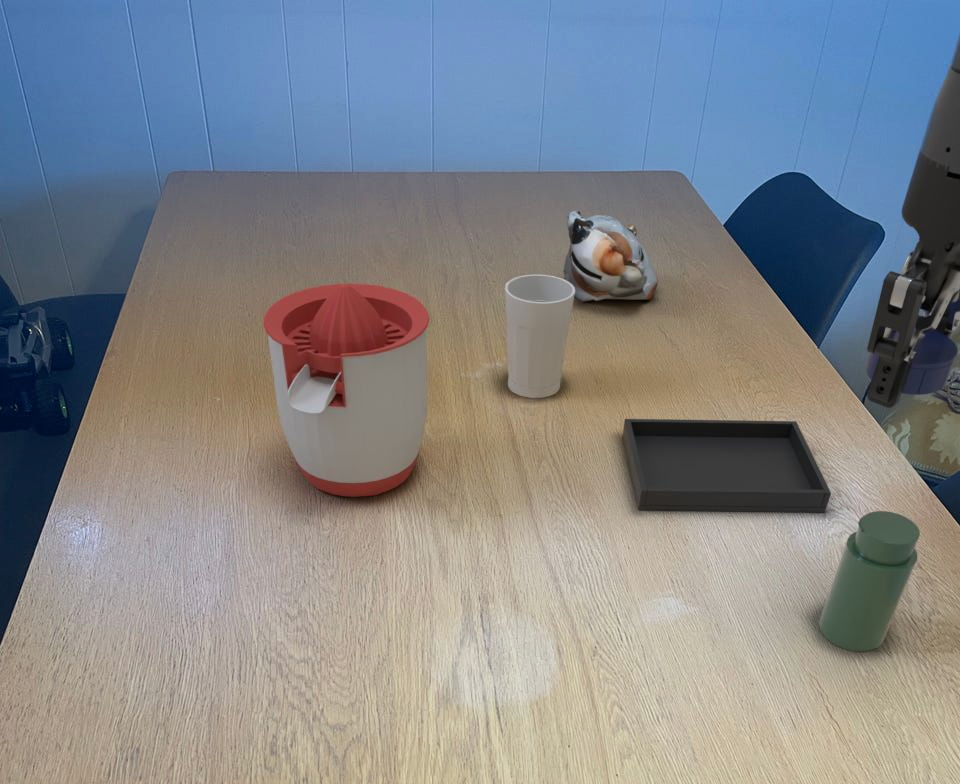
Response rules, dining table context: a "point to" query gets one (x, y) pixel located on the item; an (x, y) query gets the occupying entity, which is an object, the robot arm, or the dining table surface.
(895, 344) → the robot arm
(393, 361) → the citrus juicer
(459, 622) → the dining table surface
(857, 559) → the jar
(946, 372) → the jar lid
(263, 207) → the dining table surface
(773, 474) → the tray
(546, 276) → the cup
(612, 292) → the lucky cat figurine
